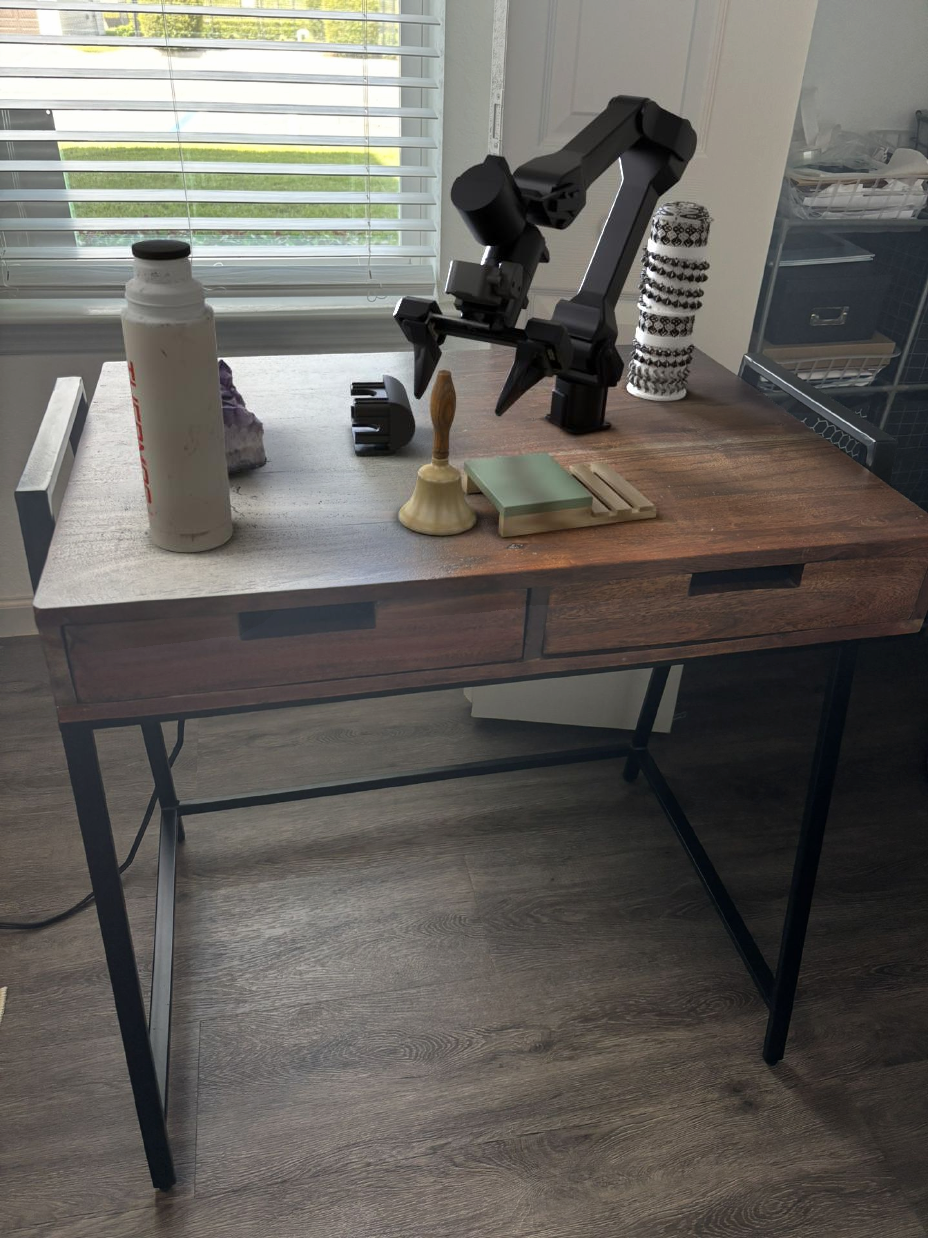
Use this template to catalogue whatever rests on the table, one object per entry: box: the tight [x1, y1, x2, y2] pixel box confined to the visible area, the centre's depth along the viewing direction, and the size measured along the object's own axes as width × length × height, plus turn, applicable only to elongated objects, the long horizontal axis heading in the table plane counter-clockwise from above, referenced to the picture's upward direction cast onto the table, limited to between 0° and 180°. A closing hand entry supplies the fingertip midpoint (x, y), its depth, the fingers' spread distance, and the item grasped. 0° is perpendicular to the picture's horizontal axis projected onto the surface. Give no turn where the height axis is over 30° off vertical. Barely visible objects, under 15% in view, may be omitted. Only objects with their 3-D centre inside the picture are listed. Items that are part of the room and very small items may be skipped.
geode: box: [218, 358, 268, 475], centre depth 115 cm, size 20×12×10 cm, turn 19°
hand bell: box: [397, 369, 478, 536], centre depth 102 cm, size 8×8×16 cm
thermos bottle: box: [120, 238, 234, 553], centre depth 93 cm, size 8×8×28 cm
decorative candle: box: [626, 201, 715, 402], centre depth 136 cm, size 9×9×25 cm
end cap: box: [349, 374, 417, 457], centre depth 121 cm, size 10×7×7 cm
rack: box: [462, 451, 658, 538], centre depth 109 cm, size 18×12×4 cm, turn 110°
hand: (456, 405), depth 103 cm, fingers open, 9 cm apart
